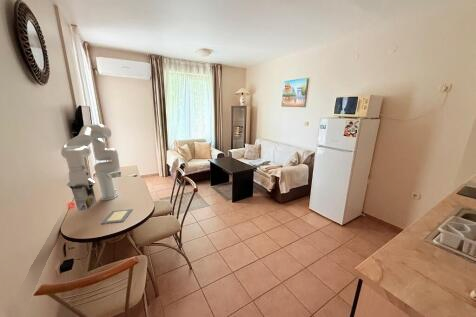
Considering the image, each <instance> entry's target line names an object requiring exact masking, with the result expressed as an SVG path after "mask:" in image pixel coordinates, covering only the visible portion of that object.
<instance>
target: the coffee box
mask: <svg viewBox="0 0 476 317" xmlns="http://www.w3.org/2000/svg"><path fill="white" fill-rule="evenodd" d="M90 184H92V183H90ZM70 189H71V191H72V195H73V198H74V201H75V202H74V203H75V206H76V208H77V209H76V210H77V212H85V211H89V210H90V209H92V208H93V207H94V206H95V205H97V204H98V202H97V198H96V195H95V192H94V186H93V187H92V194H91V195H88V191H87V189H88V188H87V187H86V186H74V187H72V188H70Z"/></svg>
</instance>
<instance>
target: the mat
mask: <svg viewBox="0 0 476 317" xmlns="http://www.w3.org/2000/svg"><path fill="white" fill-rule="evenodd" d="M133 210H134V209H133V208H130V209H119V210H112V211H111V212H110V213H109V214H108V215H107V216H106V218H105V219H104V220H103V221H101V223H100V225H105V223H107V224H117V223H124V222H125V220H126V219H127V218H128V217H129V215H130V214H131V213H132V211H133Z"/></svg>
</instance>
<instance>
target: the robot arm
mask: <svg viewBox="0 0 476 317" xmlns="http://www.w3.org/2000/svg"><path fill="white" fill-rule="evenodd" d="M111 136H112V131H111V129H110V128H109V127H108V126H107V125H104V124H101V123H97V124H95V123H93V124H85V125H83V126H82V127H81V128H80V131H79V133H78V135H77V136H74V137H72V138H70V139H69V140H67V141H65V143H64V144H63V146H62V147H61V151H60V153H61V156H62V157H63V158H64V159H66V164H67V168H68V170H69V171H68V179H69V182H67V184H66V186H68V187H69V188H70V189H71V188H72V187H74V186H86V187H87V188H88V189H87V191H88V195H91V194H92V187H93V188H94V185H95V184H96V181H94V180H93V179H92V178H91V177H92V176H91V175H90V171H89V170H88V169H87V168H88V166H86V165H85V162H84V158H87V157H89V156H90V155H91V153H92V152H91V149H90V147H89V146H88V145H90V144H91V143H92V146H93V153H94V158H95V160H96V161H99V162H98V163H95V164H94V168H93V169H94V171H95V174H96V176H97V180H98V184H99V187H100V193H101V196H100V200H101V201H110V200H114V199H115V198H117V197H118V195H119V194H118V193H117V192H116V191H117V189H116V188H115V185H114V180H113V177H112V175H111V174H112V173H117V172H119V171H120V169H121V168H120V167H121V166H120V160H119V153H118V150H117V149H116V148H107V144H106V142H105V140H103V139H108V138H110V137H111ZM100 161H101V162H100ZM110 173H111V174H110ZM90 183H91V184H90Z"/></svg>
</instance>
